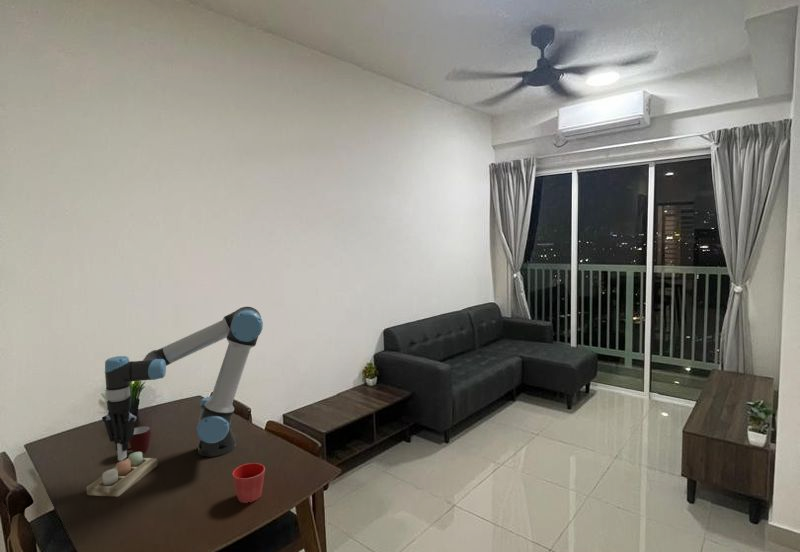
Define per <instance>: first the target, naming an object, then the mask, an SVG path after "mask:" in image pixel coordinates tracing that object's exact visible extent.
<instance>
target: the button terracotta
mask: <svg viewBox="0 0 800 552" xmlns="http://www.w3.org/2000/svg"><path fill="white" fill-rule="evenodd" d="M115 467H116V469H117V470H118V475H123V476H125V475H124V474H127V473H129V472H130V471H131V462H130V460H126V459H123V460H122V461H119V462H117V463H116V464H115Z"/></svg>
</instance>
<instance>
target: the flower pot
mask: <svg viewBox="0 0 800 552" xmlns="http://www.w3.org/2000/svg"><path fill="white" fill-rule="evenodd" d="M265 472H266V467H265V465H263V464H262V463H258V462H250V463H245V464H242V465H239V466H238V467H236V468H235V469H233V471H232V473H231V474H232V475H231V476H232V478H233V479H232V480H233V484H234V489H235V492H236V497H237V500H238V501H239V502H240V503H243V504H249V503H248V502H250V503H253V501H254V502H256V501H257V500H259V499H260V498H261V497H262V492H263V486H264V482H265V481H264V480H265ZM259 497H260V498H259ZM258 498H259V499H258ZM255 500H256V501H255Z"/></svg>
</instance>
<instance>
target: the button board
mask: <svg viewBox="0 0 800 552" xmlns="http://www.w3.org/2000/svg"><path fill="white" fill-rule="evenodd" d="M125 460H129V457H128V458H125ZM157 466H158V458H153V457H152V458H151V457H143V462H142V463H141V464H139V465H136V466H131V471H130V472H129V473H127V474H124V475H118V481H117V482H115V483H113V484H111V485H104V484H103V476H101V477H99V478H98V479H96V480H94V481H93V482H91V483H90V484H89V485H87V486H86V495H87V496H99V497H116V498H118V497H120V496H121V495H122V494H124V493H125V492H126V491H127V490H129V489H130V488H132V486H134V485H135V484H136V483H138V482H139V481H140V480H141V479H143V478H144V477H145V476H146V475H148V474H149V473H150V472H151V471H153V470H154V469H155V468H157ZM112 469H116V466H115V467H113V468H112Z"/></svg>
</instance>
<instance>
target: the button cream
mask: <svg viewBox="0 0 800 552" xmlns="http://www.w3.org/2000/svg"><path fill="white" fill-rule="evenodd" d="M102 476H103V484H104V485H109V486H112V485H111V484H113V483H115V482H117V481H118V470H117V469H113V468H112V469H108V470H106V471H103V473H102ZM102 476H101V477H102Z"/></svg>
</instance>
